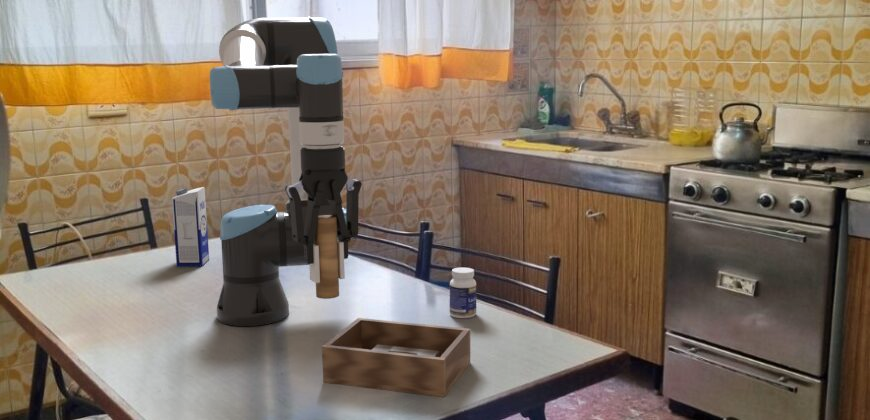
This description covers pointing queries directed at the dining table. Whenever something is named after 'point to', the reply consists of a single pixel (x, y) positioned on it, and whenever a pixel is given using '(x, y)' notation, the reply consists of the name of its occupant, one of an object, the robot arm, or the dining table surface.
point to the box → (397, 356)
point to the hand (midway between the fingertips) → (327, 278)
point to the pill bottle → (462, 293)
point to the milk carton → (190, 227)
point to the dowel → (327, 257)
